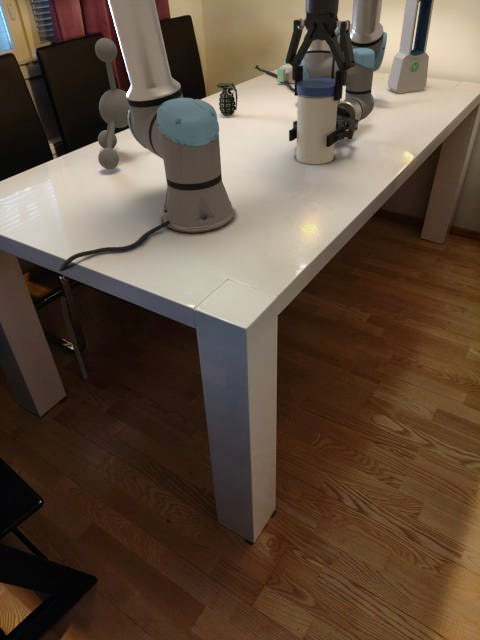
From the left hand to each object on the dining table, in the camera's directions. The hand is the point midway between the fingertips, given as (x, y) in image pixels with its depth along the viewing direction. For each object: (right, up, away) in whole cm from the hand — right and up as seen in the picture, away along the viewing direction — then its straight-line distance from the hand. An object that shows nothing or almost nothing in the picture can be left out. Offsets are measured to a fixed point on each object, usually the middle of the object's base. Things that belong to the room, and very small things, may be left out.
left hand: (317, 96), depth 124 cm
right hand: (-2, -10, +3) cm, 10 cm away
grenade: (-24, +14, +46) cm, 53 cm away
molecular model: (-50, -9, +18) cm, 54 cm away
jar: (+1, -12, +9) cm, 16 cm away
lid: (0, +2, -2) cm, 3 cm away
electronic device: (+43, +31, +61) cm, 81 cm away
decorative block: (+8, +46, +84) cm, 96 cm away
